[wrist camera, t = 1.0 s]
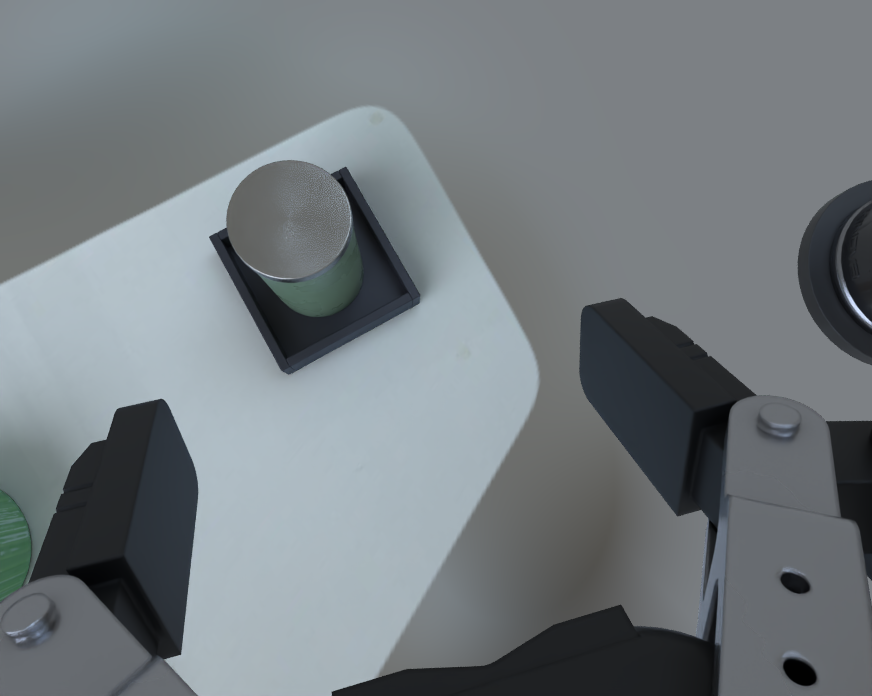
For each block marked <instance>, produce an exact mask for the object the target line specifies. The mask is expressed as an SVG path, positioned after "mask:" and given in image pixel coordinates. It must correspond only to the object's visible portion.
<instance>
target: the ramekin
mask: <svg viewBox="0 0 872 696" xmlns="http://www.w3.org/2000/svg"><path fill="white" fill-rule="evenodd" d="M30 559H31V538H30V533H29V529H28V525H27V522H26V520H25V517H24V516H23V514H22V512H21V510H20V509H19V507H18V506H17V505H16V503H15V502H14V501H13V500H12V499H11V498H10V497H9V496H8V495H7V494H5V493H4V492H3V491H1V490H0V602H1V601H2V600H3V599H4V598H6V597H7V596H8V595H10V594H11V593H13V592H14V591H16V590H17V589H19V588H21V587H22V585H23V582H24V580H25V578H26V575H27V572H28V569H29V564H30Z"/></svg>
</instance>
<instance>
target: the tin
mask: <svg viewBox="0 0 872 696" xmlns="http://www.w3.org/2000/svg"><path fill="white" fill-rule="evenodd" d="M226 221H227V232H228V236H229V239H230V242H231V244H232V246H233V248H234V250H235V252H236V253H237V255H238V256H239V257H240V258H241V259H242V261H243V262H244V263H245V264H246V265H247V266H248V267H249V268H250V269H252V270H253V271H254V272H256V273H257V274H258V275H259V276H260V277H261V278H262V279H263V280H264V281H265V282H266V284H267V285H268V286H269V287H270V288H271V289H272V290H273V291H274V292H275V293H276V294H277V296H278V297H279V298H280V299H281V300H282V301H283V302H284V303H285V304H286V305H287V306H288V307H289V308H291V309H292V310H294V311H295V312H297V313H299V314H302V315H305V316H310V317H325V316H330V315H333V314H335V313H338V312H340V311H341V310H343V309H345V308H346V307H347V306H348V305H350V304H351V302H352V301H353V300H354V299H355V298H356V296H357V295H358V293H359V291H360V288H361V286H362V282H363V275H364V271H363V263H362V259H361V255H360V251H359V247H358V243H357V239H356V235H355V231H354V227H353V216H352V210H351V206H350V203H349V200H348V197H347V195H346V193H345V191H344V189H343V188H342V186H341V185H340V184H339V182H338V181H337V180H336V179H335V178H334V177H333V176H332V175H330V174H329V173H328V172H326V171H325V170H323V169H322V168H320V167H318V166H316V165H313V164H310V163H307V162H302V161H294V160H287V161H278V162H274V163H270V164H267V165H265V166H262V167H260V168H258V169H257V170H255V171H253V172H252V173H251V174H249V175H248V176H247V177H246V178H245V179H244V180H243V181H242V182H241V183H240V184H239V186H238V187H237V188H236V190H235V192H234V193H233V195H232V198H231V200H230V202H229V206H228V210H227V218H226Z"/></svg>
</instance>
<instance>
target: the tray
mask: <svg viewBox="0 0 872 696" xmlns="http://www.w3.org/2000/svg"><path fill="white" fill-rule="evenodd" d="M331 175H332V176H333V177H334V178H335V179H336V180H337V181H338V182H339V184H340V185H341V186H342V188H343V189H344V191H345V193H346V195H347V197H348V200H349V203H350V206H351V210H352V216H353V227H354V231H355V235H356V239H357V243H358V247H359V251H360V255H361V259H362V263H363V271H364V275H363V282H362V286H361V288H360V291H359V293H358V295H357V296H356V298H355V299H354V300H353V301H352V302H351V304H350V305H348V306H347V307H346V308H345V309H343V310H341V311H340V312H338V313H335V314H333V315H330V316H325V317H310V316H305V315H302V314H299V313H297V312H295V311H294V310H292V309H291V308H289V307H288V306H287V305H286V304H285V303H284V302H283V301H282V300H281V299H280V298H279V297H278V296H277V294H276V293H275V292H274V291H273V290H272V289H271V288H270V287H269V286H268V285H267V284H266V282H265V281H264V280H263V279H262V278H261V277H260V276H259V275H258V274H257V273H256V272H254V271H253V270H252V269H250V268H249V267H248V266H247V265H246V264H245V263H244V262H243V261H242V259H241V258H240V257H239V256H238V255H237V253H236V252H235V250H234V248H233V246H232V244H231V242H230V239H229V236H228V232H227V228H225V229H223V230H221V231H219V232H218V234H217V233H215V234H213V235H211V236H210V237H209V238H210V240H211V242H212V244H213V246H214V247H215V249H216V251H217V253H218V255H219V257H220V258H221V260H222V262H223V264H224V266H225V268H226V269H227V271H228V273H229V275H230V277H231V279H232V281H233V282H234V284H235V286H236V288H237V290H238V292H239V293H240V295H241V297H242V299H243V301H244V303H245V305H246V306H247V308H248V310H249V312H250V314H251V316H252V317H253V319H254V321H255V323H256V325H257V327H258V328H259V330H260V332H261V334H262V336H263V338H264V340H265V341H266V343H267V345H268V347H269V349H270V351H271V352H272V354H273V356H274V358H275V360H276V362H277V364H278V365H279V367H280V369H281V371H283V372H285V373H287V374H288V375H289V374H291V373H293V372H295V371H297V370H298V369H300V368H302V367H304V366H306V365H308V364H309V363H311V362H313V361H315V360H317V359H318V358H320V357H322V356H324V355H326V354H328V353H329V352H331V351H333V350H335V349H337V348H339V347H340V346H342V345H344V344H346V343H348V342H350V341H351V340H353V339H355V338H357V337H359V336H360V335H362V334H364V333H366V332H368V331H370V330H371V329H373V328H375V327H377V326H379V325H381V324H382V323H384V322H386V321H388V320H390V319H392V318H393V317H395V316H397V315H399V314H401V313H402V312H404V311H406V310H408V309H410V308H412V307H413V306H415V305H417V304H419V302H420V294H419V292H418V290H417V289H416V287H415V285H414V283H413V282H412V280H411V278H410V277H409V275H408V273H407V271H406V270H405V268H404V266H403V264H402V263H401V261H400V259H399V257H398V256H397V254H396V252H395V251H394V249H393V247H392V245H391V244H390V242H389V240H388V238H387V237H386V235H385V233H384V231H383V230H382V228H381V226H380V225H379V223H378V221H377V219H376V218H375V216H374V214H373V212H372V211H371V209H370V207H369V205H368V204H367V202H366V200H365V199H364V197H363V195H362V193H361V192H360V190H359V188H358V186H357V185H356V183H355V181H354V179H353V178H352V176H351V174H350V173H349V171H348V169H347V167H344V168H342V169H340V170H339V171H336V172H334V173H333V174H331Z"/></svg>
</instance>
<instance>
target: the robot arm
mask: <svg viewBox="0 0 872 696" xmlns="http://www.w3.org/2000/svg"><path fill="white" fill-rule="evenodd" d="M829 267H830V276H831V281H832V284H833V288H834V290H835V293H836V295H837V297H838V299H839V301H840V303H841V305H842V306H843V308H844V309H845V311H846V312H847V314H848V315H849V316H850V317H851V318H852V319H853V320H854V321H855V322H856V323H857V324H858V325H859V326H860V327H861V328H862V329H864V330H865V331H866V332H868V333H869V334H871V335H872V201H870V202H868V203H866V204H864V205H862V206H860V207H859V208H857V209H856V210H854V211H853V212H852V213H851V214H850V215H849V216H848V217H847V218H846V219H845V220H844V221H843V222H842V224H841V225H840V227H839V228H838V230H837V232H836V234H835V236H834V239H833V242H832V246H831V250H830V258H829ZM580 334H581V335H580V368H579V369H580V371H579V372H580V380H581V384H582V387H583V390H584V393H585V395H586V397H587V399H588V400H589V402H590V403H591V404H592V405H593V407H594V408H595V410H596V411H597V412H598V413H599V415H600V416H601V417H602V419H603V420H604V421H605V423H606V424H607V425H608V427H609V428H610V429H611V430H612V432H613V433H614V434H615V436H616V437H617V438H618V440H619V441H620V442H621V443H622V445H623V446H624V447H625V449H626V450H627V451H628V453H629V454H630V455H631V457H632V458H633V459H634V460H635V462H636V463H637V464H638V466H639V467H640V468H641V470H642V471H643V472H644V474H645V475H646V476H647V477H648V479H649V480H650V481H651V483H652V484H653V485H654V486H655V488H656V489H657V490H658V492H659V493H660V494H661V496H662V497H663V498H664V500H665V501H666V502H667V504H668V505H669V506H670V507H671V509H672V510H673V511H674V512H675V514H676V515H677V516H681V515H684V514H687V513H691V512H695V511H698V510H702V511H703V512H704V513H705V515H706V516H707V517H708V523H707V528H706V535H705V547H704V558H703V570H702V582H701V593H700V604H699V616H698V624H697V631H696V637H694V636H692V635H688V634H685V633H682V632H678V631H674V630H668V629H663V628H656V627H645V626H633V625H632V623H631V621H630V619H629V618H628V616H627V614H626V613H625V611H624V609H623V607H622V606H621V605H618V606H615V607H611V608H608V609H605V610H601V611H598V612H595V613H592V614H588V615H585V616H581V617H578V618H575V619H571V620H568V621H565V622H562V623H558V624H555V625H553V626H551V627H550V628H548V629H546V630H545V631H543V632H541V633H540V634H538V635H537V636H535V637H533V638H532V639H530V640H529V641H527V642H525V643H524V644H522V645H521V646H519V647H517V648H516V649H515V650H513V651H511V652H510V653H508V654H507V655H505V656H503V657H502V658H500V659H498V660H497V661H495V662H493V663H491V664H489V665H485V666H474V667H450V668H424V669H406V670H402V671H399V672H396V673H393V674H389V675H386V676H382V677H379V678H376V679H372V680H369V681H366V682H363V683H359V684H356V685H353V686H349V687H346V688H343V689H339V690H336V691H333V692H332V696H872V605H871V599H870V592H869V586H868V580H867V576H868V577H869V578H870V579H871V580H872V421H825V420H824V419H823V418H822V416H821V415H819V414H818V413H817V412H816V411H814V410H813V409H811V408H810V407H808V406H806V405H804V404H802V403H800V402H797V401H794V400H791V399H788V398H784V397H778V396H770V395H759V396H757V395H756V394H754V393H753V392H752V391H751V390H750V389H749V388H747V387H746V386H745V385H744V384H743V383H742V382H740V381H739V380H738V379H737V378H736V377H734V376H733V375H732V374H731V373H729V371H727V370H726V369H725V368H724V367H723V366H722V365H720V364H719V363H718V362H717V361H716V360H715V359H714V358H712V357H711V356H709V357H708V355H707V352H705V351H704V350H703V349H702V348H701V347H700V346H698V345H697V344H695V345H694V343H693V341H692V340H691V339H690V338H689V337H688V336H687V335H686V334H684V333H683V332H682V331H681V330H680V329H678V328H677V327H676V326H674V325H671V324H669V323H666V322H664V321H662V320H660V319H657V318H655V317H653V316H652V317H647V318H645V317H644V316H643V315H641V313H640V312H639V311H637V310H636V309H635V308H634V307H633V306H632V305H631V304H630V303H629V302H627V301H626V300H625V299H622V298H620V299H615V300H610V301H606V302H601V303H597V304H592V305H588V306H585V307H584V308H583V310H582V314H581V333H580ZM63 491H64V494H61V496H60V499H59V501H58V504H57V507H56V511H57V513H55V514H54V515H53V518H52V520H51V523H50V526H49V529H48V531H47V534H46V537H45V539H44V542H43V545H42V548H41V550H40V553H39V556H38V558H37V561H36V564H35V567H34V569H33V572H32V575H31V578H30V580H29V583H28V584H26V585H25V586H23V587H21V588H19V589H17V590H16V591H14V592H13V593H11V594H10V595H8V596H7V597H6V598H4V599H3V600H2V601H1V602H0V696H198V695H197V694H196V693H195V692H194V691H193V690H192V689H191V688H190V687H189V686H188V685H187V684H186V683H185V682H184V681H183V679H182V678H181V677H180V676H179V675H178V674H177V673H176V672H175V671H174V670H173V669H172V668H171V667H170V666H169V665H168V664H167V663H166V662H165V661H164V660H163V659H167V658H170V657H174V656H178V655H181V650H182V641H183V632H184V622H185V613H186V604H187V595H188V585H189V576H190V567H191V557H192V548H193V539H194V530H195V520H196V511H197V502H198V481H197V475H196V471H195V467H194V464H193V461H192V459H191V457H190V454H189V452H188V450H187V447H186V445H185V443H184V440H183V438H182V436H181V433H180V431H179V429H178V426H177V424H176V422H175V420H174V417H173V415H172V413H171V410H170V408H169V406H168V404H167V403H166V402H165V401H164V400H163V399H158V400H154V401H149V402H145V403H140V404H136V405H131V406H127V407H122V408H118V409H117V410H116V412H115V414H114V417H113V421H112V424H111V427H110V430H109V433H108V437H107V440H103V441H99V442H94V443H91V444H90V445H89V447H88V448H87V449H86V450H85V451H84V452H83V453H82V455H81V456H80V457H79V458H78V459H77V460H76V461H75V463H74V464H73V465H72V466H71V469H70V471H69V474H68V477H67V480H66V482H65V485H64V488H63Z"/></svg>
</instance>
